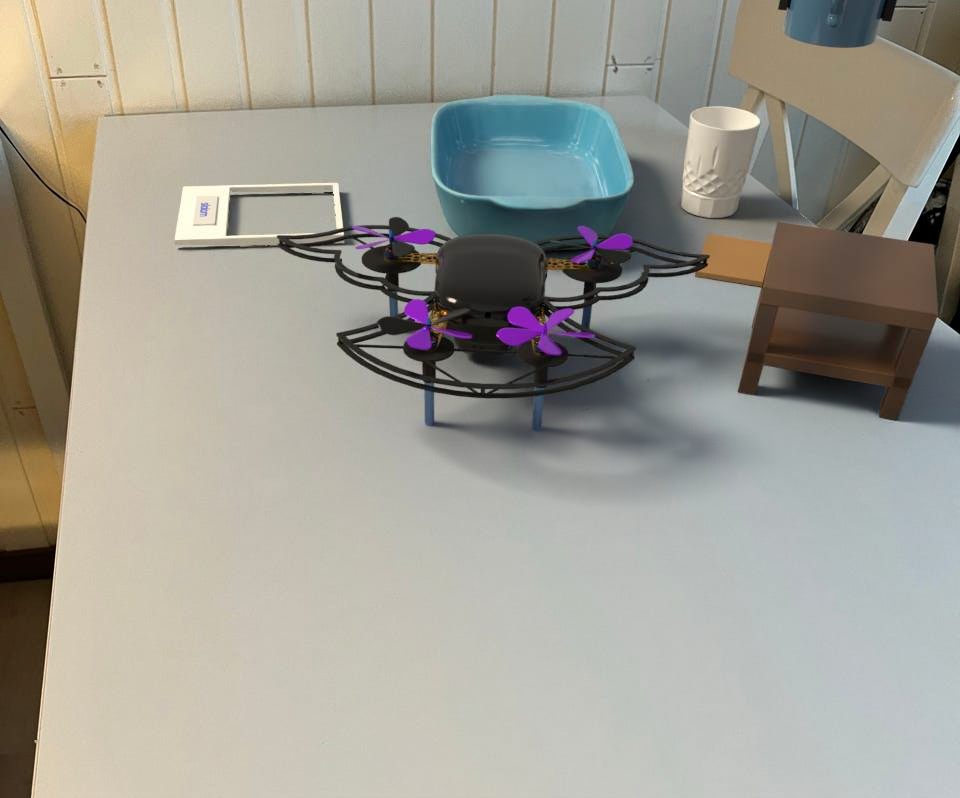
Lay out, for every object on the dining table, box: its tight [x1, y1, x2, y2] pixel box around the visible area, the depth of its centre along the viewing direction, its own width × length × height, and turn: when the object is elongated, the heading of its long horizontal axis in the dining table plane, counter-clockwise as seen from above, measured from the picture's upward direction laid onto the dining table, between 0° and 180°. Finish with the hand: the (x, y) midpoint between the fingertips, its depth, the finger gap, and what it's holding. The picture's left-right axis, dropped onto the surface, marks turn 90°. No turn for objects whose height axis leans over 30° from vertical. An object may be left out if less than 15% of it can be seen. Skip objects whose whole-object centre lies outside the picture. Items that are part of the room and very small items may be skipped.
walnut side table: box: [737, 221, 939, 421], centre depth 89 cm, size 14×14×10 cm
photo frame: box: [174, 182, 345, 247], centre depth 112 cm, size 15×1×18 cm
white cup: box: [680, 105, 762, 219], centre depth 115 cm, size 8×8×10 cm
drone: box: [277, 216, 710, 432], centre depth 86 cm, size 40×10×28 cm
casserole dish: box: [430, 94, 635, 251], centre depth 115 cm, size 37×22×7 cm, turn 2°
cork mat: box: [694, 233, 772, 288], centre depth 108 cm, size 10×10×1 cm
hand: (834, 11), depth 85 cm, fingers closed on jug, 8 cm apart
